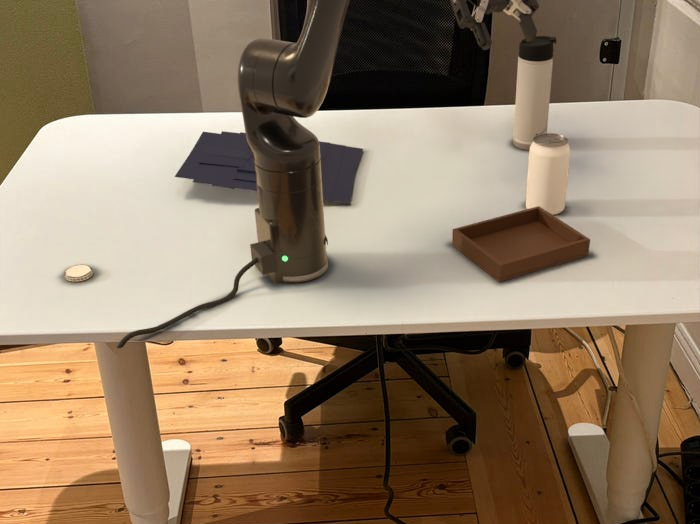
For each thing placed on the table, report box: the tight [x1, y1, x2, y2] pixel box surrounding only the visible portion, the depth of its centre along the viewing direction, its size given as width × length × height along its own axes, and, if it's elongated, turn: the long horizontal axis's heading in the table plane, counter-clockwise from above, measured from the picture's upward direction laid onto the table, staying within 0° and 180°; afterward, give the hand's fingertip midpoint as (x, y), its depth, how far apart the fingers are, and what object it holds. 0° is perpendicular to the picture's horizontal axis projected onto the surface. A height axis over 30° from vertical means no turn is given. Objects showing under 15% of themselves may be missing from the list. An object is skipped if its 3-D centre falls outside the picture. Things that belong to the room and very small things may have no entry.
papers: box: [174, 130, 364, 204], centre depth 166 cm, size 24×30×4 cm
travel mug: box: [512, 35, 557, 151], centre depth 172 cm, size 6×7×20 cm
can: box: [525, 132, 571, 216], centre depth 152 cm, size 6×6×12 cm
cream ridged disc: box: [63, 264, 94, 282], centre depth 138 cm, size 4×4×1 cm
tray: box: [451, 206, 591, 283], centre depth 142 cm, size 16×13×3 cm
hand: (510, 43), depth 150 cm, fingers open, 8 cm apart
